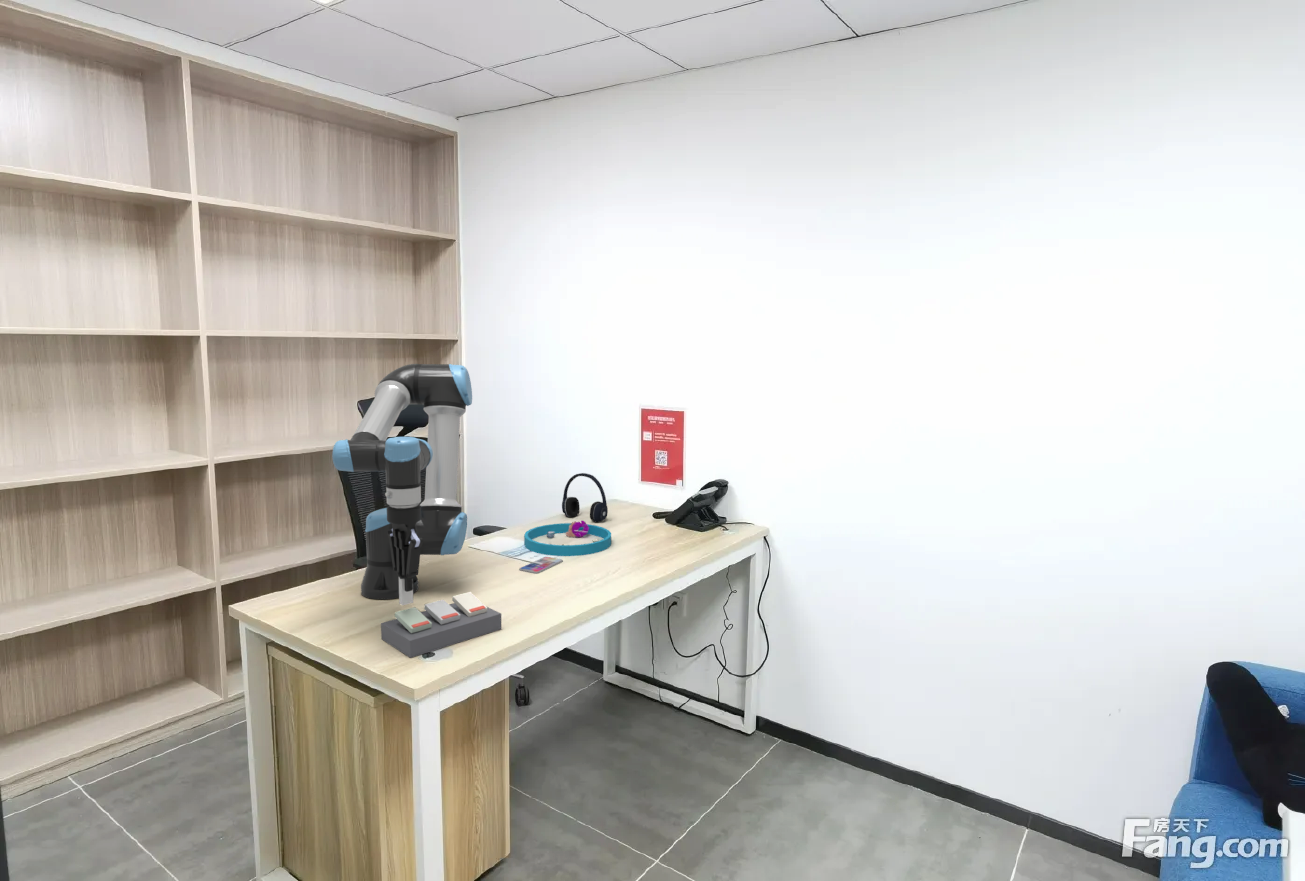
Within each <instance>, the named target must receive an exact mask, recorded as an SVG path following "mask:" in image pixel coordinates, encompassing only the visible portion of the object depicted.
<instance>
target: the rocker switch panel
mask: <svg viewBox="0 0 1305 881" xmlns="http://www.w3.org/2000/svg"><path fill="white" fill-rule="evenodd" d="M448 604H449V605H450V606H451V607H452V608H453V609H455V610H456V611H457V612H458V613H459V614H460V619H459V620H455V621H452V622H449V623H445V624H442V625H441V624H440V623H439V622H438V621H437V620H436V619H435V618H433V617H432V616H431V615H430V614H429V613H428V612H427V611H426V610H423V611H420V612H421V613H422V614H423V615H424V616H425V617H426V618H427V619H428V620H429V621H430V622H431V623H432V626H431V628H428V629H425V630H421V631H418V632H414V633H410V632H409V631H408V630H407V629H406V628H405V627H404V626H403V625H402V624H401V623H400V622H399V621H398V620H397V619H396V618H394V619H390V620H386V621H384V622H381V623H380V634H381V635H380V637H381V638H380V640H382V641H383V642H385V643H387V645H390V646H392V648H394V649H396V650H398V651H399V652H400V653H403V655H405V656H406V657H408V658H411V659H412V658H414V657H418V656H421V655H424V654H427V653H430V652H434V651H436V650H441V649H444V648H447V647H449V646H453V645H455V644H459V643H462V642H465V641H468V640H472V639H474V638H477V637H478V638H479V637H481V636H483V635H487V634H490V633H493V632H496V631H500V630H502V613H501V612H499V611H497V610H495V609H493V608H491V607H488V606H487V605H485V606H486V607H487V612H485V613H481V614H478V615H475V616H471V617H468V616H467V615H466V614H465V613H464V612H463V611H462V610H461V609H460V608H459V607H458V606H457V605H456V604H455V603H454V602H453V603H448Z"/></svg>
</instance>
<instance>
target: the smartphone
mask: <svg viewBox="0 0 1305 881" xmlns="http://www.w3.org/2000/svg"><path fill="white" fill-rule="evenodd" d="M563 562H564V560H563V559H560V558H555V557H550V556H543V557H542V558H541V557H540V558H539V559H536V560H535V561H532V562H530V563H527V564H525V565H523V566H521V567H519V569H518V571H520V572H524V573H529V574H534V575H535V574H536V575H538V574H540V573H543V572H545V571H547V570H548V569H551V568H553V567H555V566H557V565H560V564H562V563H563Z"/></svg>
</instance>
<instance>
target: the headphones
mask: <svg viewBox="0 0 1305 881" xmlns="http://www.w3.org/2000/svg"><path fill="white" fill-rule="evenodd" d="M577 477H585V478H588V479H590V480H592V482H594V483H595V485H596V486H597V487H598V489H599V492H600V495H601V499H602V501H599V500H598V501H595V502H593V503H592V504H591V505H590V509H589V519H590V521H592V522H594V523H601V522H602V521H606V519H607V517H608V511H609V510H608V505H607V504H608V503H607V498H606V494H605V490H604V488H603V486H602V484H601V482H600V481H599V479H598V478H596V476H594V475H593V474H590V473H586V472H581V473H576V474H574V475H572V476H571V477H570V478H569V480H568V481H567V483H566V485H565V487H564V490H563V497H562V502H561V510H562V513H563V514H564V515H565V517H568V518H573V517H577V516H578V515H579V513H580V510H581V509H580V501H579V499H578V498H577V497H575V496H569V497H568V490H569V488H570V484H571V483H572V482H573V481H574V480H575V479H576V478H577Z"/></svg>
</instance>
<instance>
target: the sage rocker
mask: <svg viewBox="0 0 1305 881" xmlns="http://www.w3.org/2000/svg"><path fill="white" fill-rule="evenodd" d="M421 612H422V611H420V610H418V608H417V607H415V606H413V607H409V608H406V609H403V610H399V611H398V610H397V611H395V612H394V617H395V618H394V619H397V620H398V621H399V622H400V623H401V624H402V625H403V626H404V627H405V628H406V629H407V630H408V631H409V632H410V633H414V632H418V631H421V630H425V629H428V628H431V626H432V623H431V622H430V621H429V620H428V619H427V618H426V617H425V616H424V615H423V614H422V613H421Z"/></svg>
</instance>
